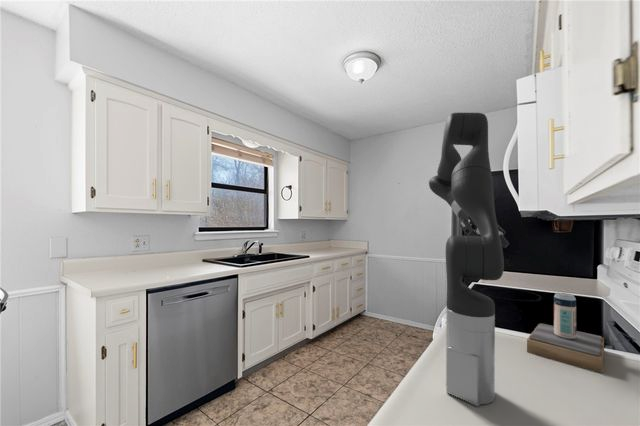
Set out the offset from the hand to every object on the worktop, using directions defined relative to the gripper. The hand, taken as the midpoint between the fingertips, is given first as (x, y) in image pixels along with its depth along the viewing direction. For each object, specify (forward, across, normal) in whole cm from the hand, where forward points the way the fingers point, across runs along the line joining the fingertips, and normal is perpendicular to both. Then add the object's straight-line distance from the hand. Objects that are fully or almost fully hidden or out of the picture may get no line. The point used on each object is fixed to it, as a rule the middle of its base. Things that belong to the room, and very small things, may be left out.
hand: (496, 245), depth 89 cm
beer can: (+26, +12, +10) cm, 30 cm away
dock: (+29, +12, +12) cm, 33 cm away
